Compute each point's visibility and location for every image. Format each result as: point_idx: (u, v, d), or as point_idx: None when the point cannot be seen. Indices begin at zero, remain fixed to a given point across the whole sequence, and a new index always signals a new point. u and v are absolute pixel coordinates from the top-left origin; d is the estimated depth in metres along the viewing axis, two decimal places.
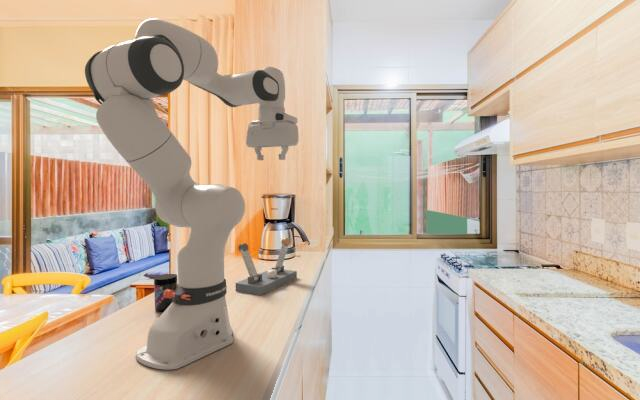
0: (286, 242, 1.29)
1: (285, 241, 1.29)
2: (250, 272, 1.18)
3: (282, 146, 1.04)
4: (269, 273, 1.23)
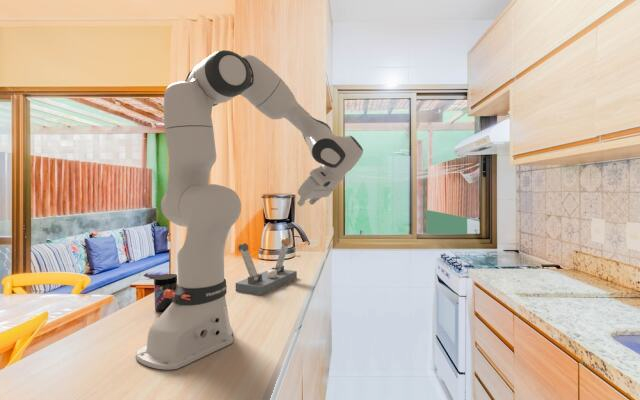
0: (286, 242, 1.29)
1: (285, 241, 1.29)
2: (250, 272, 1.18)
3: None
4: (269, 273, 1.23)
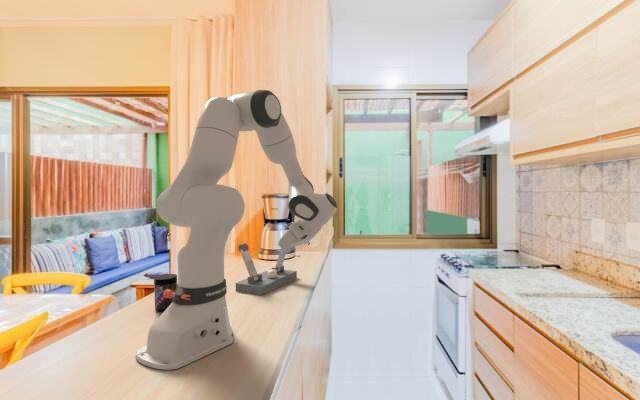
0: None
1: None
2: (250, 272, 1.18)
3: None
4: (269, 273, 1.23)
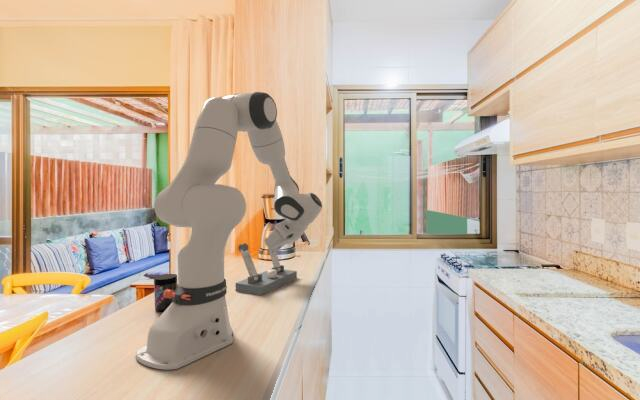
0: None
1: None
2: (250, 272, 1.18)
3: None
4: (269, 273, 1.23)
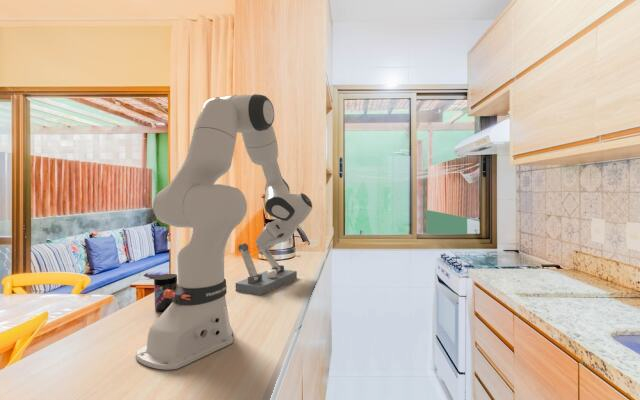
0: None
1: None
2: (250, 272, 1.18)
3: None
4: (269, 273, 1.23)
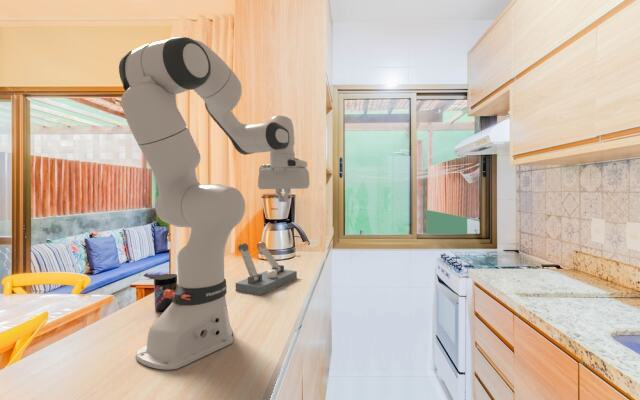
0: (260, 244, 1.35)
1: (259, 245, 1.35)
2: (250, 272, 1.18)
3: (285, 189, 1.13)
4: (269, 273, 1.23)
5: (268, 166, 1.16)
